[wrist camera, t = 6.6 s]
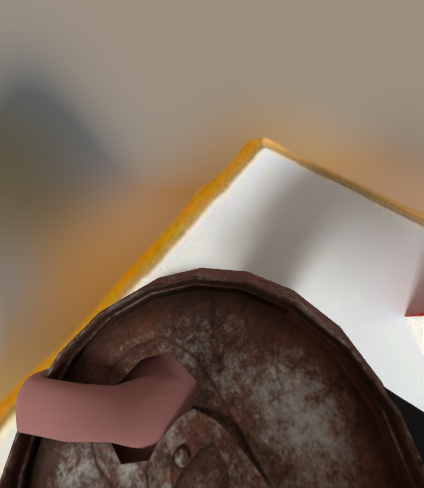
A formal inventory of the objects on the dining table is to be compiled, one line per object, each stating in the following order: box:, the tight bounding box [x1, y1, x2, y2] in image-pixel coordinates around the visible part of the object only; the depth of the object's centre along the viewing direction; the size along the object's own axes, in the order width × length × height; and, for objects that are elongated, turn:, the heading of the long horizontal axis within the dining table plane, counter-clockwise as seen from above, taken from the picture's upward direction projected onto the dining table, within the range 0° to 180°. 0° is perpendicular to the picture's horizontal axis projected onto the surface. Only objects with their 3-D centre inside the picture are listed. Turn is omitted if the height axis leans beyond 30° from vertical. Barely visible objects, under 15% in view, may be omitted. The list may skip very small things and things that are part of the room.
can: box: [0, 268, 424, 488], centre depth 9 cm, size 6×6×14 cm
